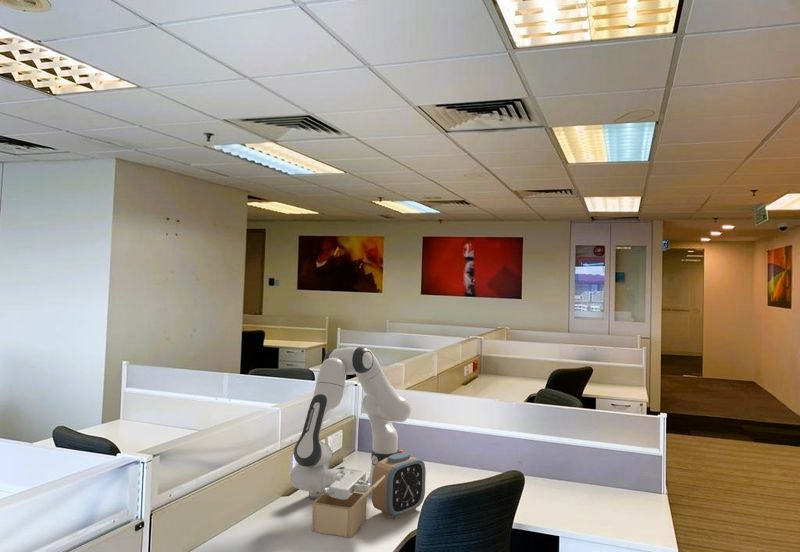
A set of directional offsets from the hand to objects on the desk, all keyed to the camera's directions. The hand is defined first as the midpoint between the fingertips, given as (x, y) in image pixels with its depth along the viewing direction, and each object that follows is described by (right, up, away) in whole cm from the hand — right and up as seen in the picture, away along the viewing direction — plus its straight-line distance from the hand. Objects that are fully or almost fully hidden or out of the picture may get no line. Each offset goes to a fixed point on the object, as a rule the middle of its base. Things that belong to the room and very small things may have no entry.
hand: (369, 487), depth 203 cm
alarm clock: (+11, -16, +17) cm, 25 cm away
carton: (-11, -15, +3) cm, 19 cm away
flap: (-3, -5, +1) cm, 6 cm away
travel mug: (-23, -15, +30) cm, 41 cm away
